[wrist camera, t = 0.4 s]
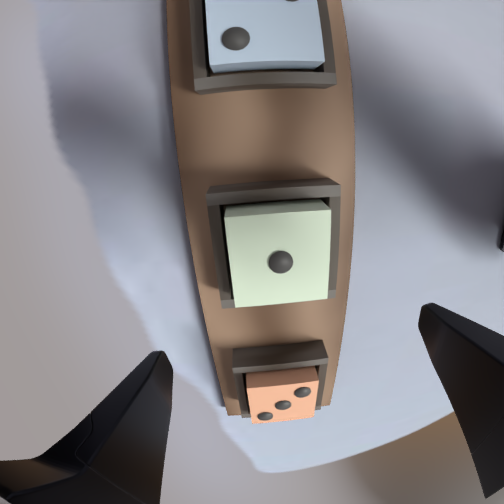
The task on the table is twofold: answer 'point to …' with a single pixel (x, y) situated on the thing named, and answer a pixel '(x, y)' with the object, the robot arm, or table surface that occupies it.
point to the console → (264, 190)
